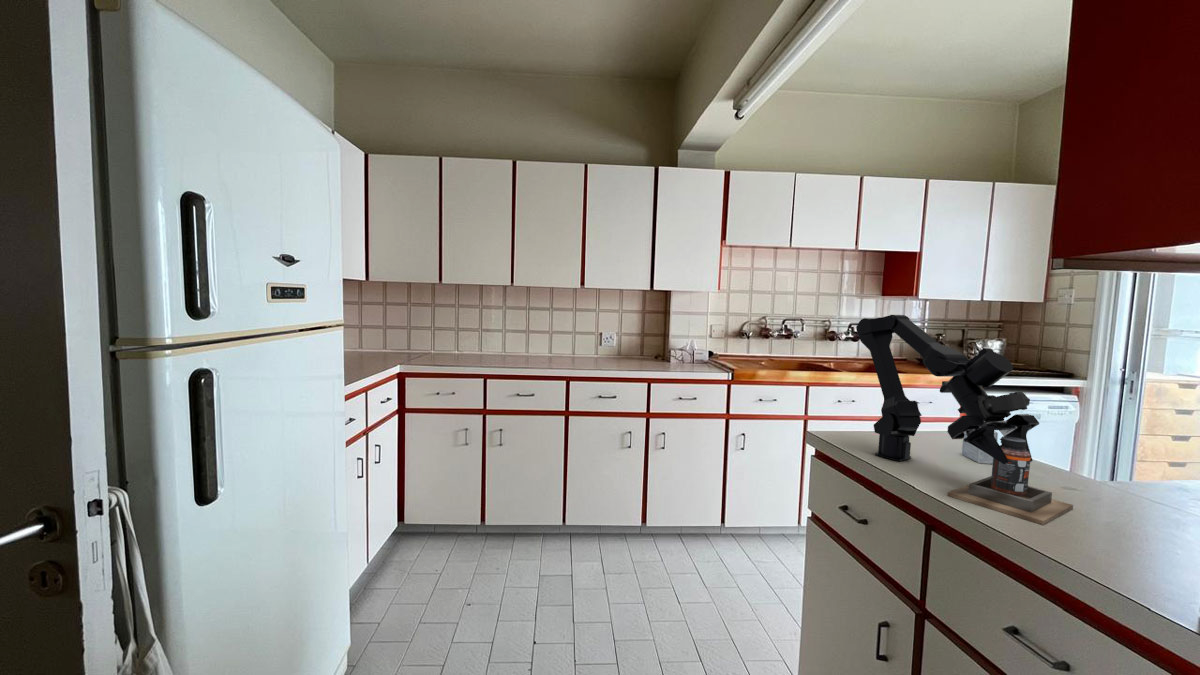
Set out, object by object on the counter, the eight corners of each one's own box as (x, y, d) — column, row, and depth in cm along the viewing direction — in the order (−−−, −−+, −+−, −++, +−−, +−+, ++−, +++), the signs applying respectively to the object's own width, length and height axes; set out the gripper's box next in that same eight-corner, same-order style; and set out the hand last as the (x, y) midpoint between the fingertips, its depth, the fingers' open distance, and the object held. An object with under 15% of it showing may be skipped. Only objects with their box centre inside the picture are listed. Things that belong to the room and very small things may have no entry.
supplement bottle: (1030, 499, 101) (1036, 444, 100) (993, 493, 103) (998, 439, 103) (1023, 490, 106) (1028, 437, 105) (987, 484, 109) (993, 433, 108)
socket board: (947, 495, 107) (948, 481, 107) (980, 483, 115) (981, 470, 115) (1042, 525, 93) (1044, 509, 93) (1072, 508, 102) (1074, 494, 102)
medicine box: (996, 464, 130) (999, 432, 130) (977, 463, 131) (980, 431, 131) (978, 456, 138) (981, 425, 138) (961, 454, 139) (963, 423, 138)
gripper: (964, 378, 104) (1013, 445, 95) (1034, 377, 109) (1088, 442, 99) (929, 406, 113) (970, 471, 103) (995, 405, 117) (1040, 467, 107)
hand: (1018, 462), depth 103 cm, fingers closed on supplement bottle, 6 cm apart
